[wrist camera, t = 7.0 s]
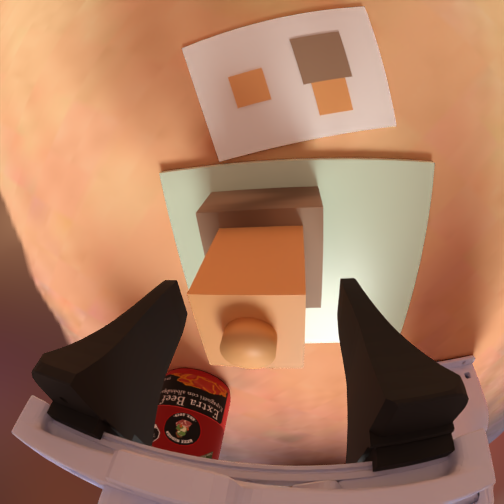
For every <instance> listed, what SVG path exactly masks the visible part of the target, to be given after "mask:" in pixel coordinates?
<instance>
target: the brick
mask: <svg viewBox="0 0 504 504" xmlns="http://www.w3.org/2000/svg"><path fill="white" fill-rule="evenodd" d="M187 296H188V300H189V303H190V306H191V309H192V313H193V316H194V319H195V322H196V325H197V328H198V331H199V335H200V338H201V341H202V344H203V347H204V349H205V352H206V355H207V358H208V361H209V364H210V365H218V366H232V367H241V368H246V369H259V368H304V349H305V314H306V285H305V258H304V237H303V226H270V227H242V228H219V230H218V232H217V234H216V236H215V238H214V240H213V242H212V244H211V246H210V248H209V250H208V252H207V254H206V256H205V258H204V260H203V262H202V264H201V266H200V268H199V270H198V272H197V274H196V276H195V278H194V280H193V282H192V285H191V287H190V289H189V291H188V293H187Z"/></svg>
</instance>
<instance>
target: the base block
mask: <svg viewBox="0 0 504 504" xmlns="http://www.w3.org/2000/svg"><path fill="white" fill-rule="evenodd" d="M196 218H197V223H198V227H199V232H200V237H201V241H202V246H203V251H204V255H205V256H206V254H207V252H208V250H209V248H210V246H211V244H212V242H213V240H214V238H215V236H216V234H217V232H218V230H219V228H242V227H270V226H303V237H304V258H305V285H306V308H321V298H322V273H323V204H322V200H321V196H320V192H319V188H318V186H311V187H283V188H263V189H247V190H232V191H219V192H211V193H210V195H209V196H208V197H207V199H206V200H205V201H204V202H203V204H202V205H201V207H200V208H199V209H198V211H197V212H196Z"/></svg>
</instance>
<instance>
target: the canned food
mask: <svg viewBox="0 0 504 504" xmlns="http://www.w3.org/2000/svg"><path fill="white" fill-rule="evenodd" d="M229 406H230V391H229V389H228V387H227V386H226V385H225V384H224V383H223V382H222V381H221V380H220V379H218V378H217V377H215V376H213V375H211V374H209V373H206V372H204V371H200V370H196V369H190V368H179V369H174V370H171V371H169V372H168V373H167V374H166V376H165V379H164V383H163V387H162V390H161V394H160V399H159V404H158V408H157V414H156V420H155V426H154V434H153V443H152V447H155V448H159V449H163V450H167V451H172V452H176V453H181V454H186V455H191V456H197V457H202V458H209V459H215V460H218V458H219V454H220V449H221V444H222V440H223V435H224V430H225V425H226V420H227V416H228V411H229Z"/></svg>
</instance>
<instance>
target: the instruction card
mask: <svg viewBox="0 0 504 504" xmlns="http://www.w3.org/2000/svg"><path fill="white" fill-rule="evenodd" d="M182 51H183V54H184V57H185V60H186V63H187V66H188V69H189V72H190V75H191V78H192V81H193V84H194V87H195V90H196V93H197V96H198V99H199V102H200V105H201V108H202V111H203V114H204V117H205V120H206V123H207V126H208V129H209V132H210V135H211V138H212V141H213V144H214V147H215V150H216V153H217V156H218V159H219V162H221V161H224V160H228V159H231V158H235V157H239V156H243V155H247V154H250V153H254V152H258V151H262V150H267V149H271V148H275V147H279V146H284V145H288V144H293V143H297V142H302V141H307V140H312V139H317V138H322V137H328V136H333V135H339V134H345V133H351V132H357V131H363V130H370V129H377V128H385V127H393V126H396V120H395V114H394V109H393V104H392V99H391V95H390V90H389V86H388V81H387V77H386V73H385V69H384V66H383V62H382V58H381V55H380V51H379V48H378V45H377V41H376V38H375V35H374V32H373V29H372V26H371V23H370V20H369V17H368V14H367V12H366V9H365V6H364V7H348V8H338V9H329V10H321V11H314V12H307V13H301V14H296V15H290V16H285V17H281V18H276V19H272V20H267V21H263V22H259V23H255V24H252V25H248V26H245V27H241V28H238V29H234V30H231V31H228V32H225V33H222V34H219V35H216V36H213V37H210V38H207V39H204V40H202V41H199V42H196V43H194V44H191V45H189V46H186V47H184V48H182Z"/></svg>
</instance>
